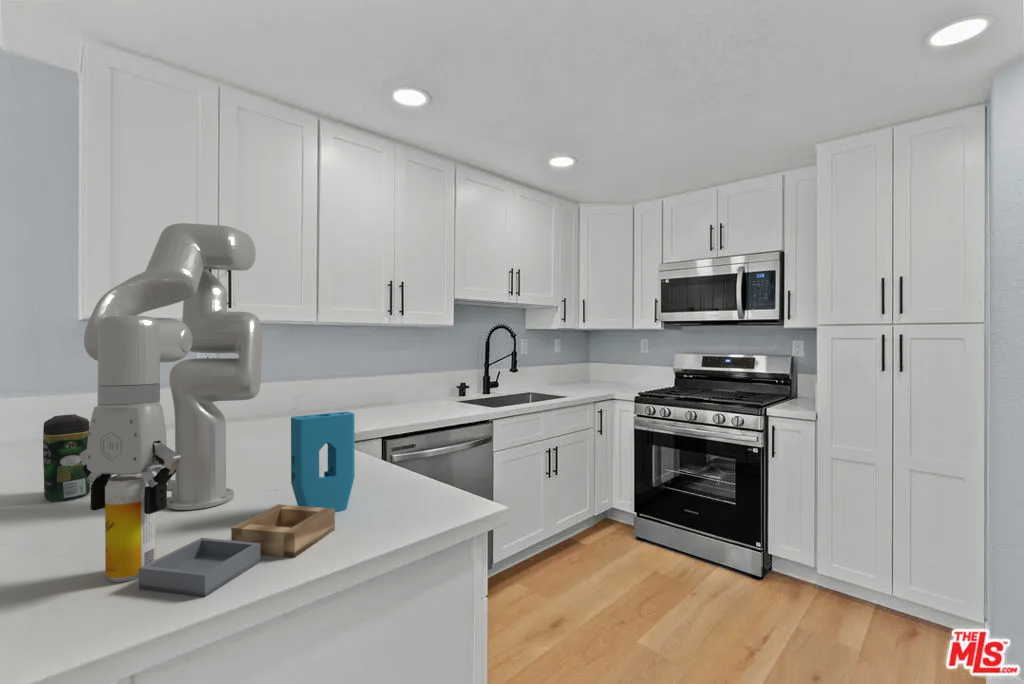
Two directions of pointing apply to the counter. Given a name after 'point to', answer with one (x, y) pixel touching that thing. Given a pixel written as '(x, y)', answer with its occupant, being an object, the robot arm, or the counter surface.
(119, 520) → the beer can
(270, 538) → the shallow wooden box
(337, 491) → the block
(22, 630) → the counter surface
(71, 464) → the coffee jar
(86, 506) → the counter surface
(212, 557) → the tray
